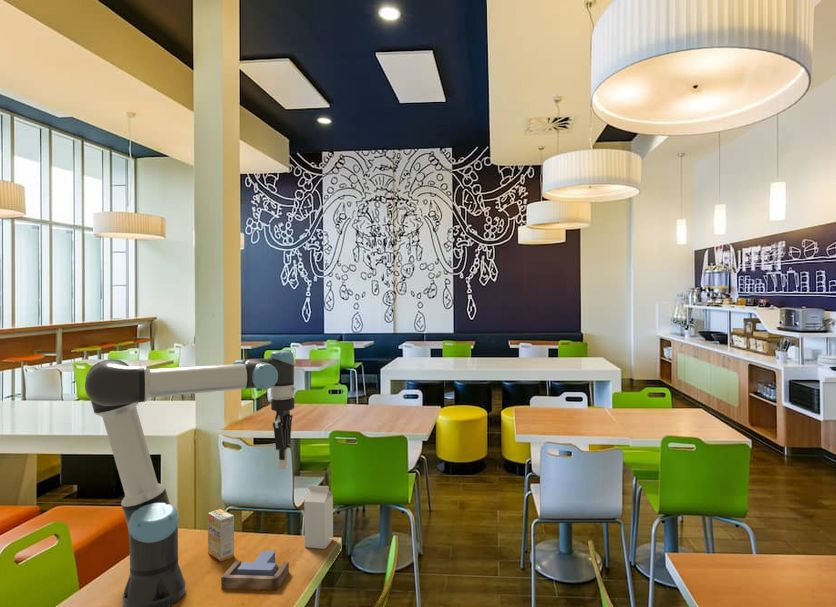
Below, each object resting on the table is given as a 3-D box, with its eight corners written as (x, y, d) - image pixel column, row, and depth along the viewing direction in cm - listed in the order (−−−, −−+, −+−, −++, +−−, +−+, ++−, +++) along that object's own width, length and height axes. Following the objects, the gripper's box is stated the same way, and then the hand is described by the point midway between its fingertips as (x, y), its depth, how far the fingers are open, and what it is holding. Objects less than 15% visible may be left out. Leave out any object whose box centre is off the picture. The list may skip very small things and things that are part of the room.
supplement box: (207, 554, 162) (206, 512, 162) (221, 548, 166) (221, 508, 166) (220, 562, 157) (220, 519, 157) (234, 556, 161) (234, 514, 161)
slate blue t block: (253, 563, 156) (252, 550, 156) (285, 564, 155) (284, 551, 155) (237, 583, 145) (237, 569, 145) (271, 584, 144) (271, 570, 144)
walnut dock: (221, 588, 142) (221, 577, 142) (236, 570, 152) (236, 560, 152) (277, 590, 141) (277, 579, 141) (288, 572, 151) (288, 561, 151)
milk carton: (325, 549, 165) (324, 490, 165) (304, 547, 166) (304, 489, 166) (333, 539, 171) (332, 482, 172) (313, 537, 173) (312, 481, 173)
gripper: (287, 401, 164) (287, 475, 164) (299, 394, 177) (300, 462, 177) (264, 401, 164) (265, 474, 164) (278, 394, 177) (279, 462, 177)
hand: (283, 468), depth 170 cm, fingers closed
